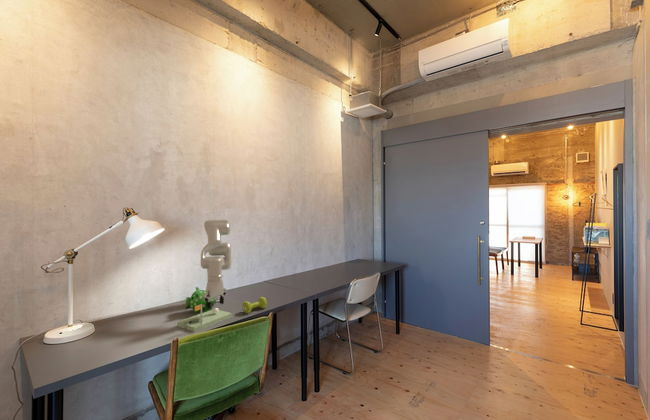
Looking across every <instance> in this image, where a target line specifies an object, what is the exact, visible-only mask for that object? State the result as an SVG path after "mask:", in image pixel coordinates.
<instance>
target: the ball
mask: <svg viewBox="0 0 650 420" xmlns="http://www.w3.org/2000/svg"><path fill="white" fill-rule="evenodd" d="M211 310H212V313H213V314H217V313H218V311H219V310H220V309H219V308H218V307H217V306H216V307H214V306H213V307H212V308H211Z"/></svg>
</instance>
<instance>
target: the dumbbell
mask: <svg viewBox="0 0 650 420" xmlns="http://www.w3.org/2000/svg"><path fill="white" fill-rule="evenodd" d="M267 304H268V302H267V299H266V297H264V296H260V297H259V298H258V299H257V301H256V302H250V301H246V300H245V301H244V302H243V303H242V305H241V308H242V311H243V313H244V314H247V313H248V314H250V313H251V312H252V309H254V308H258V307H259V309H266V307H267Z"/></svg>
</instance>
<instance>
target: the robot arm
mask: <svg viewBox="0 0 650 420" xmlns="http://www.w3.org/2000/svg"><path fill="white" fill-rule="evenodd" d="M203 225H204V226H203V227H204V230H205V233H206V236H207V244H205V245H204V247H203V248H202V250H201V252H200V267H201V268H202V269H205V270H206V273H207V282H206V287H205V290H206V293H205V294H204V295H203V298H204V300H205V301H206V307H207V308H211V302H210V300H211V298H214V297H215V298H216V301H215V303H219V304H221V305H224V304H225V303H224V302H225V300H224V299H225V297H226V293H227V291H228V289H227V288H224V283H223V282H224V280H223V279H222V278H223V277H224V276H223V273H222V272H223V271H227V270H230V269H231V268H232V248H231V244H230V243H229V242H222V236H225V235H226V236H228V235H230V233H231V225H230V221H229V220H228V219H210V220H209V219H208V220H205V221H204V224H203ZM206 254H209V256H206ZM206 297H207V298H206ZM211 309H212V308H211Z"/></svg>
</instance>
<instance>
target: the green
mask: <svg viewBox="0 0 650 420" xmlns="http://www.w3.org/2000/svg"><path fill="white" fill-rule="evenodd" d="M200 309H201V310H200ZM197 310H200V313H198V314H196V315H193V316H190V317H187V318H185V319H181V320H179V321H177V324H176V325H177V327H178V328H182V329H184V330H186V331H187V330H188V331H190V332H193V333H195V332H199V331H201V330H203V329H206V328H208V327H211V326H213V325H217V324H218V323H221V322H223V321H226V320H229V319H231V318H233V316H232V314H233V313H231V312H229V311H226V310H225V311H224V310H221V309H219V311H218V313H217V314H213V313H212V309H211V310H210V311H207V312H204V311H203V310H202V304H201V305H198V306H195V311H197Z"/></svg>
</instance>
